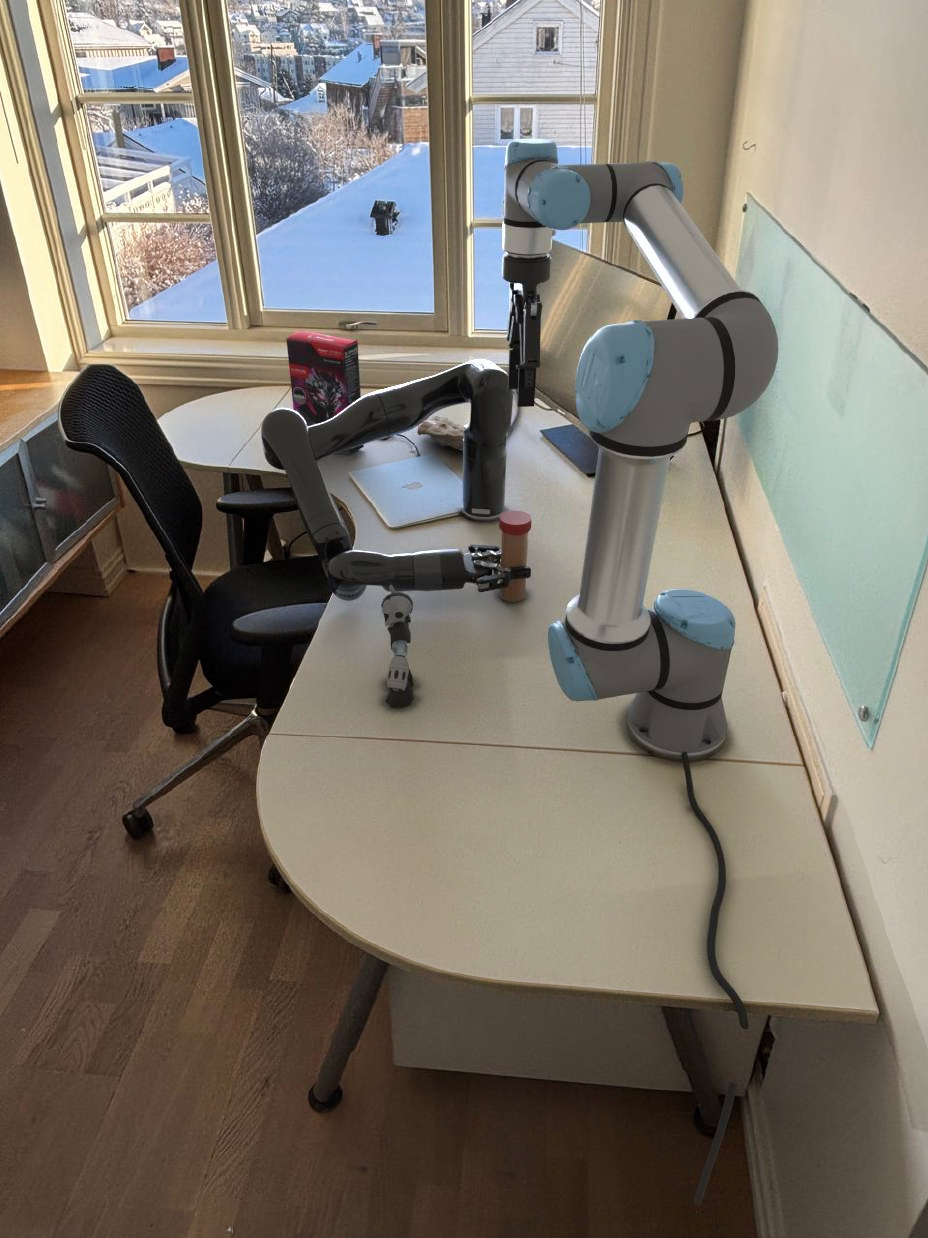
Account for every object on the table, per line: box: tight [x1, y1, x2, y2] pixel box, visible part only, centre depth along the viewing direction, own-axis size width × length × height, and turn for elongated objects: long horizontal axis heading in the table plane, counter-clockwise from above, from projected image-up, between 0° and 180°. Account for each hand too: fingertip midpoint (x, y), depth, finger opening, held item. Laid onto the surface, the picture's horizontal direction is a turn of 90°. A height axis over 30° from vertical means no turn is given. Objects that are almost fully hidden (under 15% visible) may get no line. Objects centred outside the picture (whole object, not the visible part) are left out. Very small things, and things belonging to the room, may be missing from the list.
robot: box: [380, 581, 415, 709], centre depth 145 cm, size 20×5×20 cm, turn 3°
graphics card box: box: [285, 330, 365, 456], centre depth 225 cm, size 17×7×27 cm, turn 62°
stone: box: [416, 415, 464, 452], centre depth 232 cm, size 21×15×6 cm
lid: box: [498, 509, 532, 535], centre depth 167 cm, size 6×6×2 cm
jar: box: [498, 530, 529, 603], centre depth 171 cm, size 5×5×16 cm
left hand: (527, 564), depth 172 cm, fingers closed on jar, 5 cm apart
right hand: (520, 396), depth 154 cm, fingers open, 8 cm apart
